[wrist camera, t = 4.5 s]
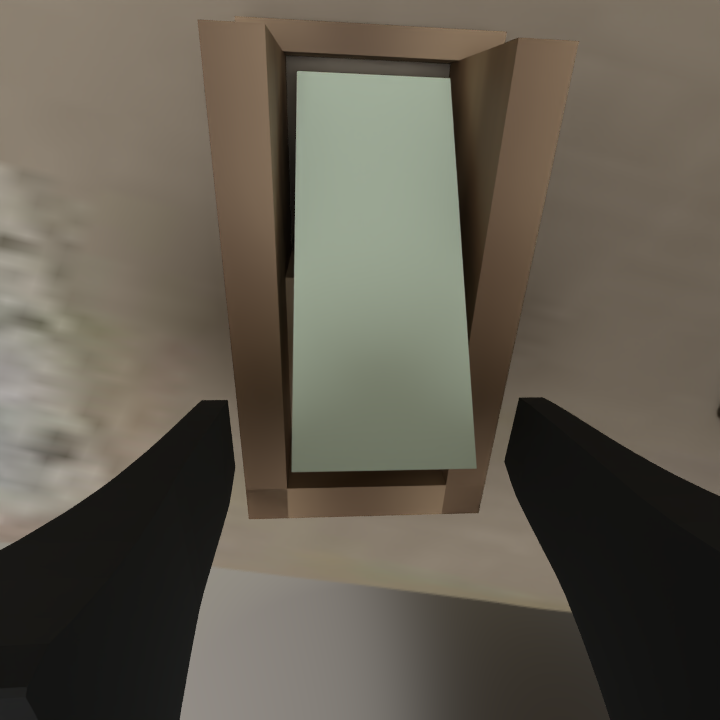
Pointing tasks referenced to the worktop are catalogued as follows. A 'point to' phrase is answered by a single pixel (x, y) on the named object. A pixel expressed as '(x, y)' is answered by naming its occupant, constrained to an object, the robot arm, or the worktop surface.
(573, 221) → the worktop surface
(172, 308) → the worktop surface
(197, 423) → the robot arm
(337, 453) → the sage bar
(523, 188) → the pocket block
